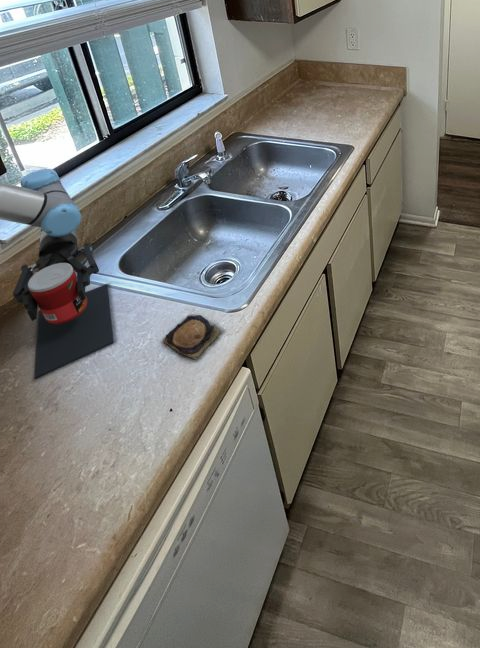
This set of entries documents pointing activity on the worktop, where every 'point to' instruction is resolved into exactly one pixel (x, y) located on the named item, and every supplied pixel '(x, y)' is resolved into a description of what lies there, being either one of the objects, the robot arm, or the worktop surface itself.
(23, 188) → the robot arm
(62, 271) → the canned food
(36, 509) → the worktop surface
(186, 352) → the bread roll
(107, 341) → the mat
